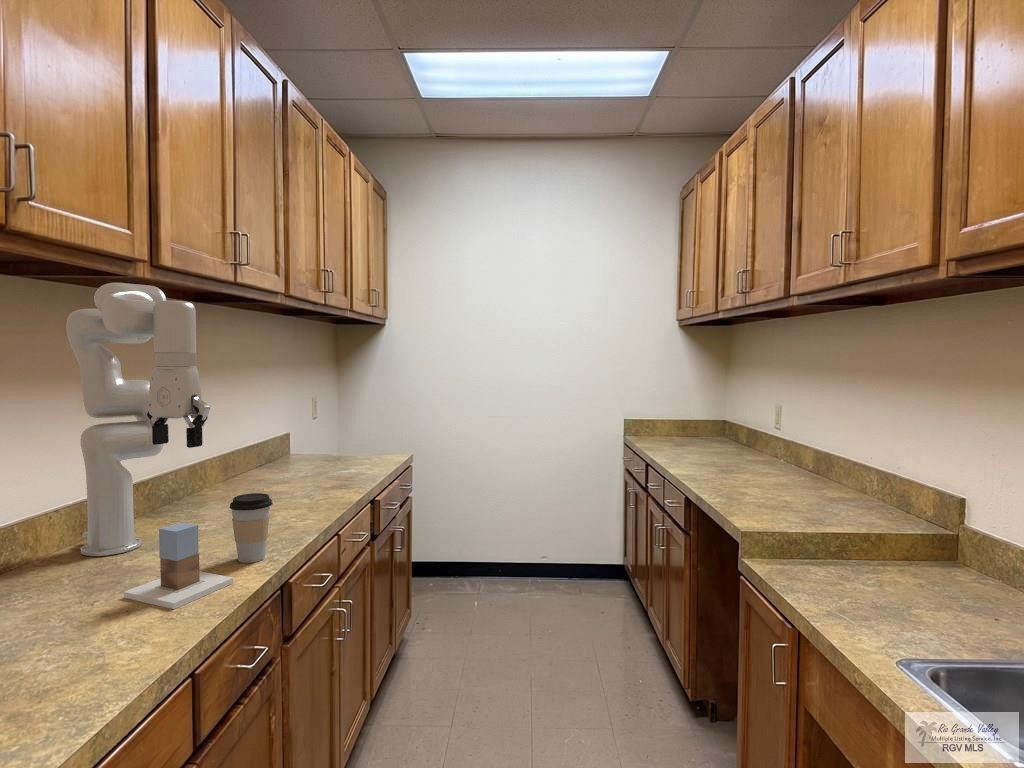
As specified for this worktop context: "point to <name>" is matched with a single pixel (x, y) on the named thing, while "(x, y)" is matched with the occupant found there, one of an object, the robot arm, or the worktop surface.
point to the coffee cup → (251, 525)
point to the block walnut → (179, 572)
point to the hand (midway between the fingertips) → (177, 445)
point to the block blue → (178, 541)
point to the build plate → (177, 591)
